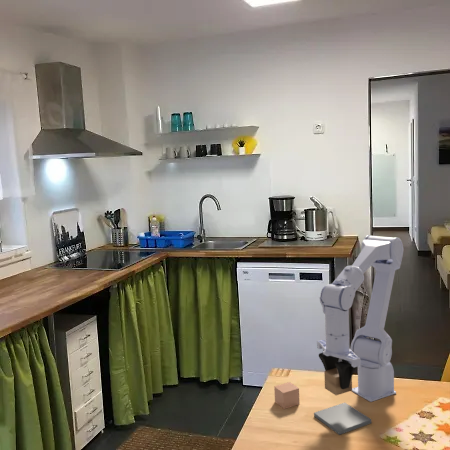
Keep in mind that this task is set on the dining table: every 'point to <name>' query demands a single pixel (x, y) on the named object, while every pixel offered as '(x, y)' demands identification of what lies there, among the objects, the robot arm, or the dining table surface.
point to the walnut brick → (335, 382)
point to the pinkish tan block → (286, 395)
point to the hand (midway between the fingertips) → (338, 383)
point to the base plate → (342, 418)
